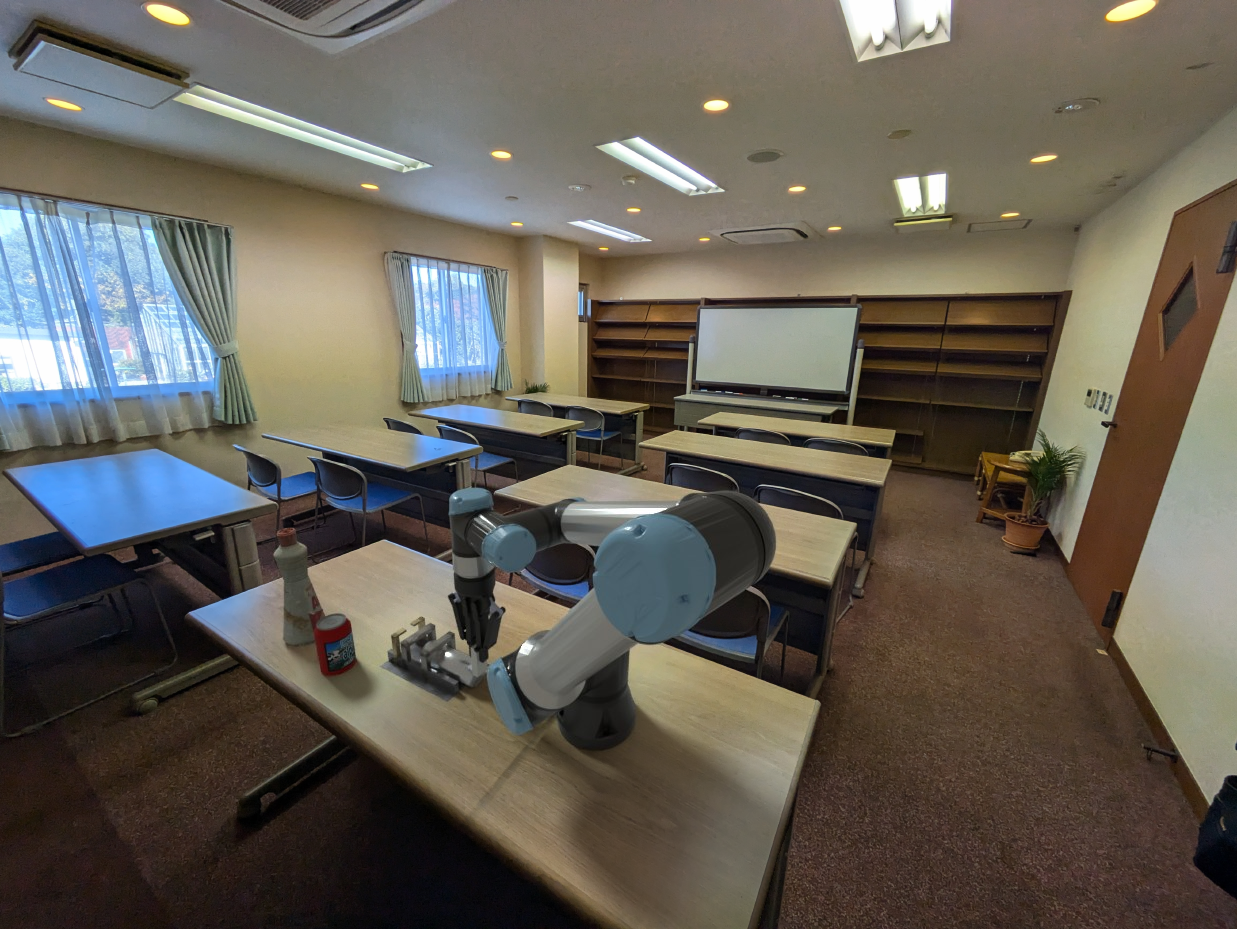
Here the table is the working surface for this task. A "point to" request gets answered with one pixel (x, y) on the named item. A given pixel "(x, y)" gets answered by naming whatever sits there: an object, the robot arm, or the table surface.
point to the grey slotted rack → (422, 660)
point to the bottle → (297, 590)
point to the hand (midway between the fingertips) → (479, 671)
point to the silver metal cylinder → (454, 664)
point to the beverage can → (334, 644)
